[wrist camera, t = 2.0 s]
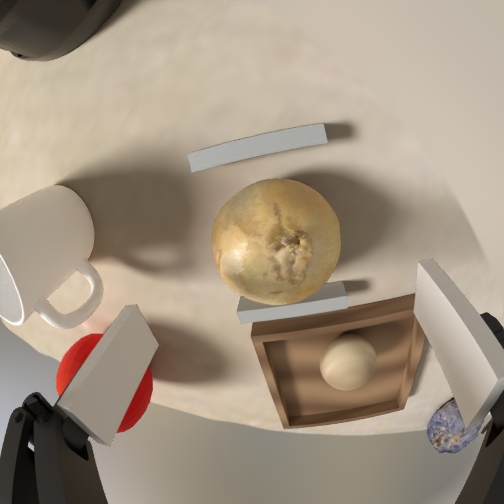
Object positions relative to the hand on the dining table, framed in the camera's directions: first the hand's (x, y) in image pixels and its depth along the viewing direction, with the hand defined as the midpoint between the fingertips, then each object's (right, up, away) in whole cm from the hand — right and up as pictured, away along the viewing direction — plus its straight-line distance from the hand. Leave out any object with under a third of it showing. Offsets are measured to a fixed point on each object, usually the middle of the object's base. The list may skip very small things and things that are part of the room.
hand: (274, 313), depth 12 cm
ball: (+8, -6, +12) cm, 15 cm away
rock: (+32, -22, +18) cm, 43 cm away
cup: (-17, +4, +10) cm, 21 cm away
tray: (+9, -10, +14) cm, 19 cm away
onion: (+1, +5, +8) cm, 9 cm away
